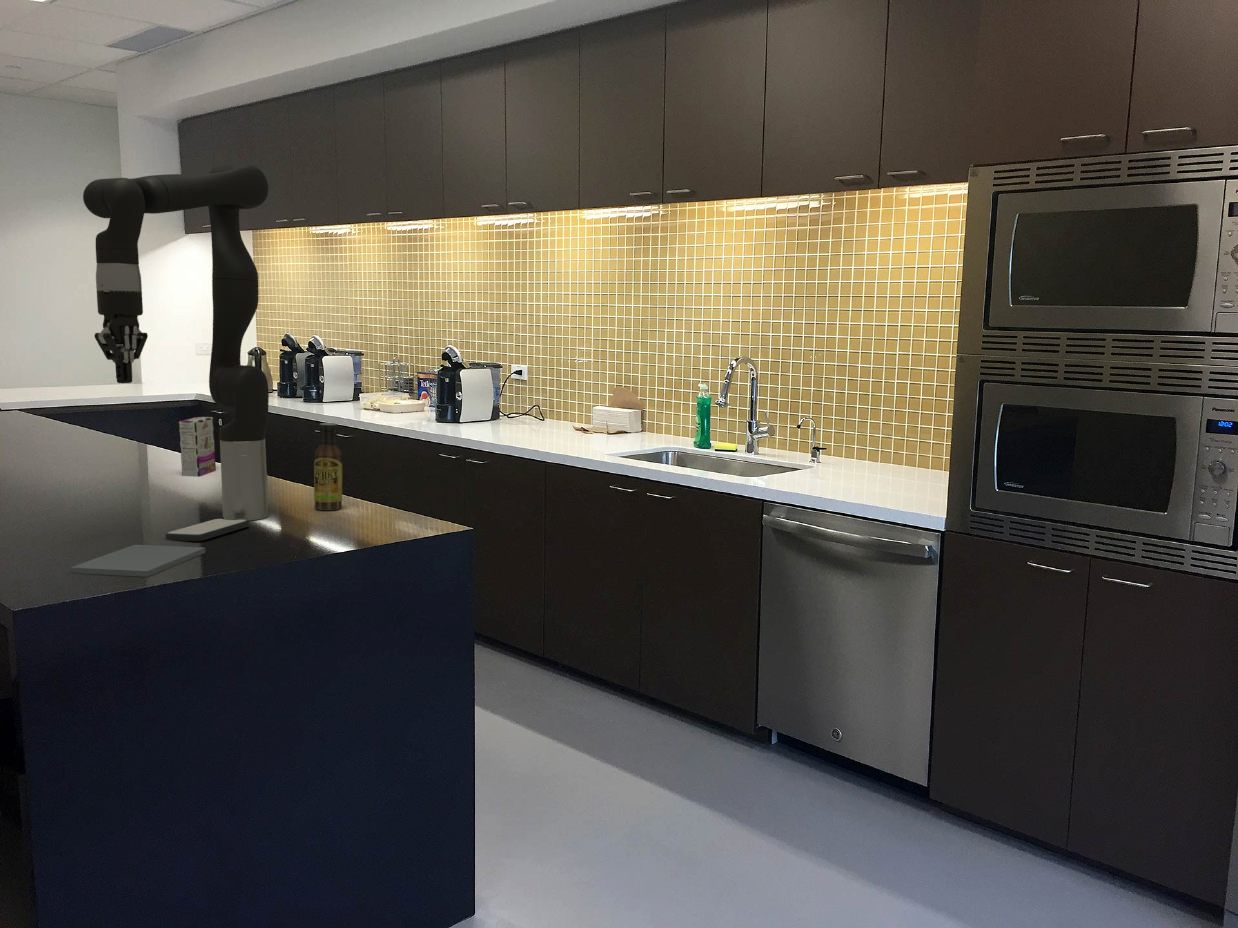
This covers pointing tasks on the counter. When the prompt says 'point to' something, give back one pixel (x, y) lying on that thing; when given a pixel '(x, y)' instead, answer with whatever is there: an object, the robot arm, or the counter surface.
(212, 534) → the smartphone
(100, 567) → the mat
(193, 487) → the counter surface
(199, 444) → the candy bar box
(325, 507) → the sauce bottle
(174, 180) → the robot arm
